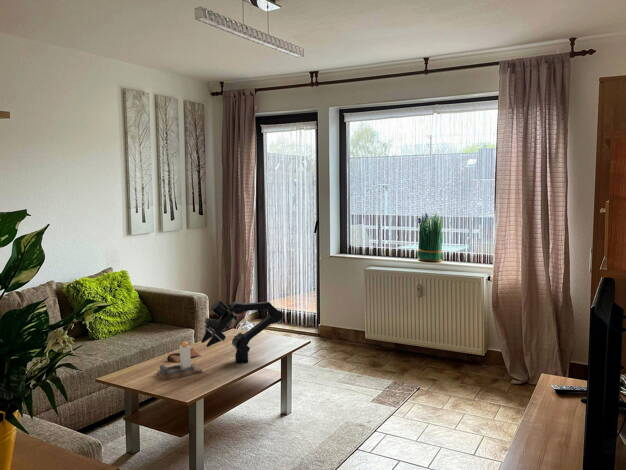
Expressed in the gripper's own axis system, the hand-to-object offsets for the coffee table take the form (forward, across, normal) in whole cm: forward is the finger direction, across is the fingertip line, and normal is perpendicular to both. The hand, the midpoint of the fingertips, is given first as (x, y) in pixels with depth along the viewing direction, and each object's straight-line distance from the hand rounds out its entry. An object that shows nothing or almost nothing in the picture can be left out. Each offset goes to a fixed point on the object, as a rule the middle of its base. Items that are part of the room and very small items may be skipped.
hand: (204, 344), depth 286 cm
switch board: (+19, 0, 0) cm, 19 cm away
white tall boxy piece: (+15, 0, +1) cm, 15 cm away
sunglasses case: (+13, -22, +7) cm, 26 cm away
